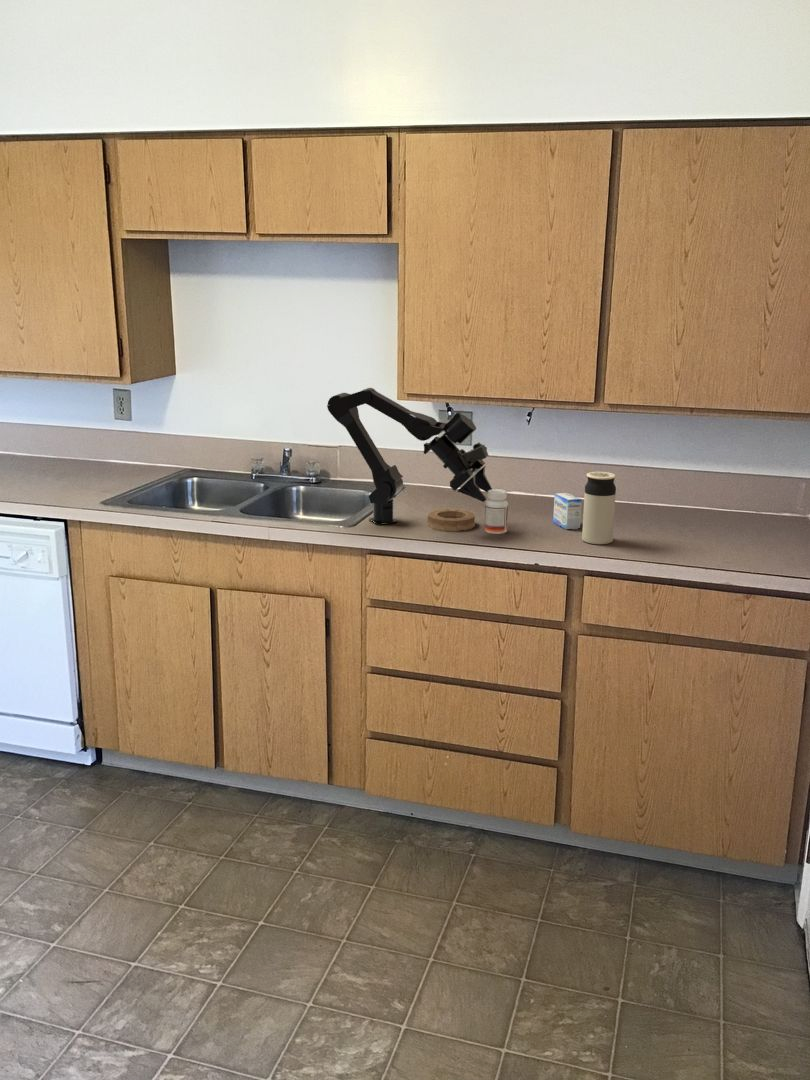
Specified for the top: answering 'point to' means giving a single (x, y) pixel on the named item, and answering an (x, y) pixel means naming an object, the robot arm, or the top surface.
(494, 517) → the pill bottle
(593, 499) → the travel mug
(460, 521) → the walnut ring
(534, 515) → the top surface
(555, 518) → the medicine box
